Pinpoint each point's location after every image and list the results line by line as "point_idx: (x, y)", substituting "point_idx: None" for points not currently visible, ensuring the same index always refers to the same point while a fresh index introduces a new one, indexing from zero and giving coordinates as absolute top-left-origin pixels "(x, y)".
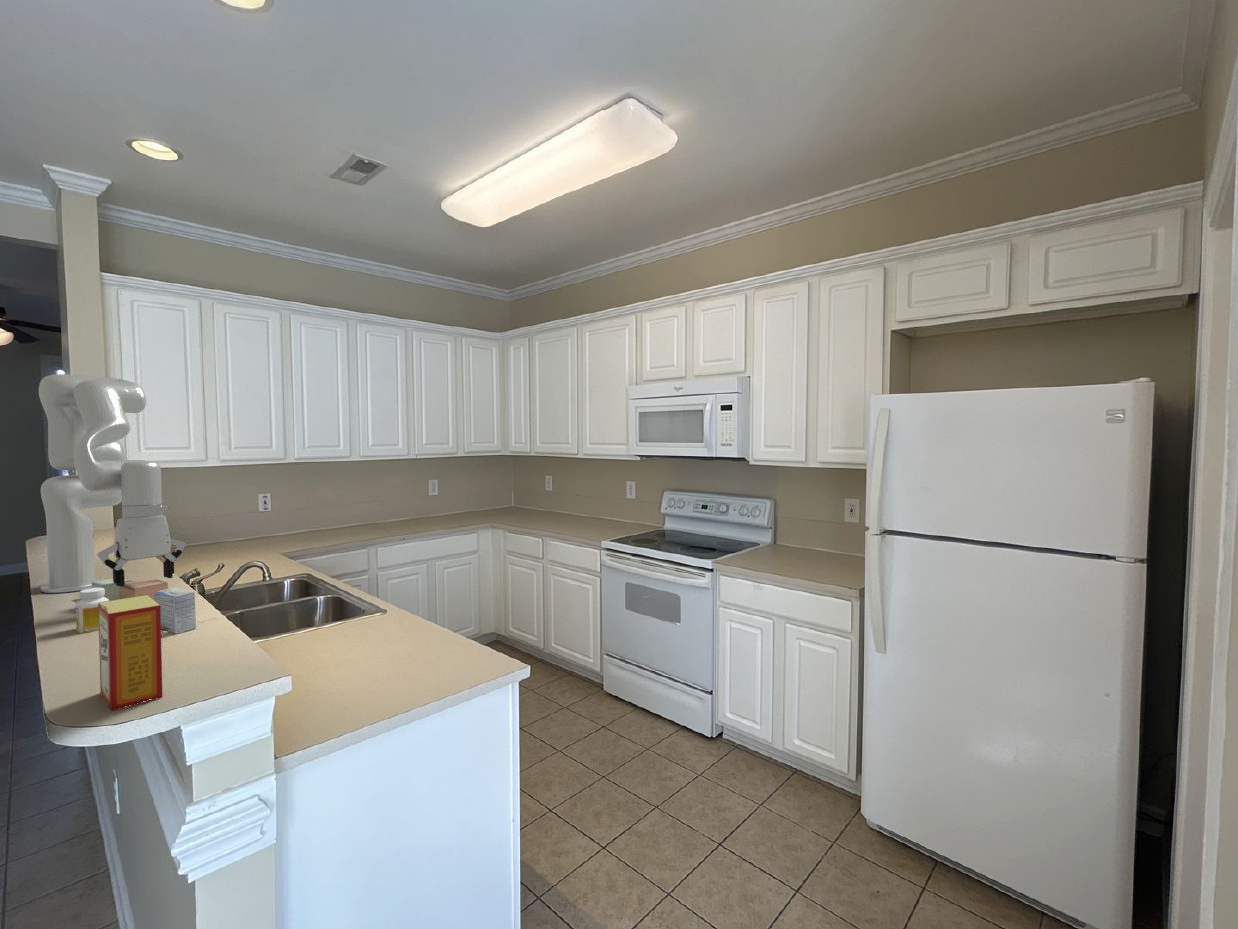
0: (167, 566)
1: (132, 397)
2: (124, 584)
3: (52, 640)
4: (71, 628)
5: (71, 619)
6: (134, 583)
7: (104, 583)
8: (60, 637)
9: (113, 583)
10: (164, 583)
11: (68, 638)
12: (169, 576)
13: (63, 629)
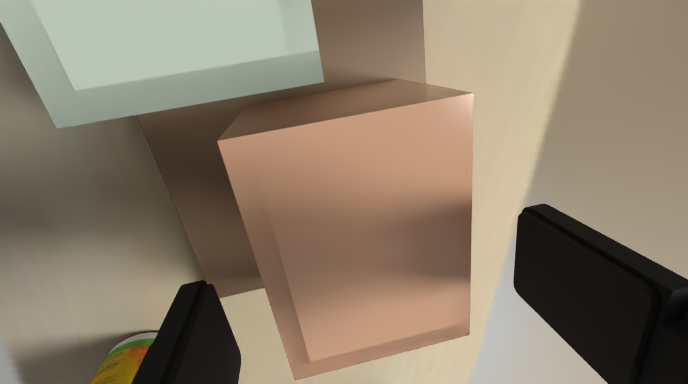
0: (592, 347)
1: None
2: (239, 363)
3: (32, 368)
4: (63, 253)
5: (18, 71)
6: (317, 233)
7: (72, 39)
8: (51, 349)
9: (165, 109)
10: (451, 339)
11: (83, 371)
12: (524, 295)
13: (31, 249)
